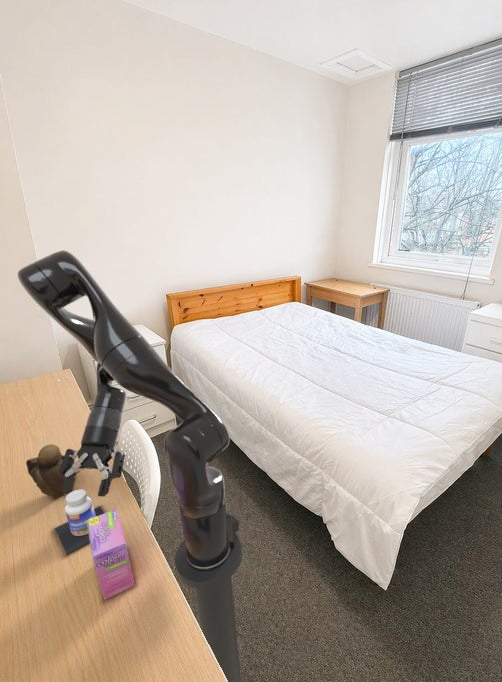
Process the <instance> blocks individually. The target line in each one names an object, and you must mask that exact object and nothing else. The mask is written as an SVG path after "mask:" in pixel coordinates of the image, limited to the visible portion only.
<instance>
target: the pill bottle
mask: <svg viewBox="0 0 502 682" xmlns="http://www.w3.org/2000/svg"><path fill="white" fill-rule="evenodd" d="M65 503H66V505H65V506H64V513H65V516H66V519H67V520H66V521H67V522H68V523H69V526H70V530H71V533H72V534H73V535H75V536H82V535H86V534H88V527H87V520H89V519H91V518H94V517H96V515H95V511H94V509H95V508H94V503H93V501H92V498H91V497H89V496H88V495H87V492H86V490H84V489H81V488H80V489H75V490H72V492H71V493H69V494H66V496H65Z"/></svg>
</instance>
